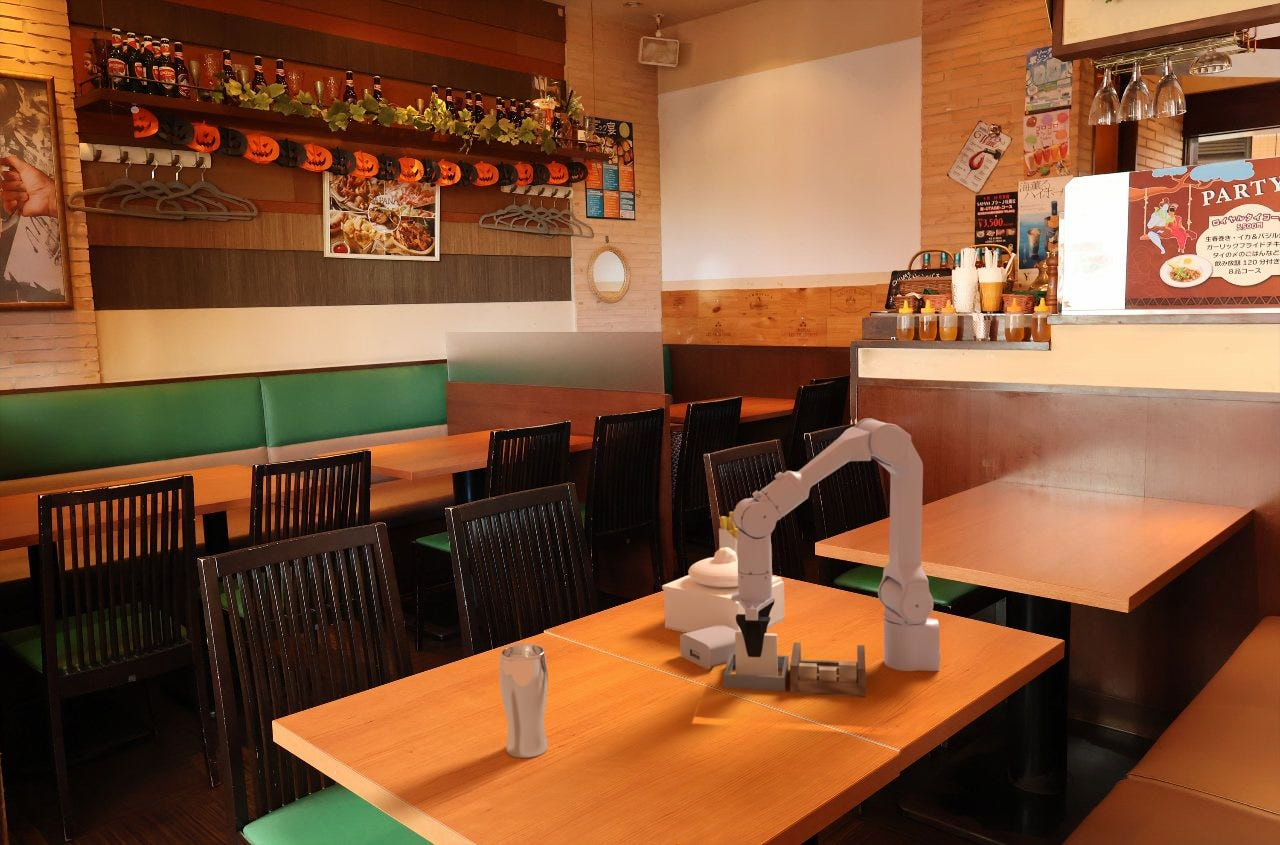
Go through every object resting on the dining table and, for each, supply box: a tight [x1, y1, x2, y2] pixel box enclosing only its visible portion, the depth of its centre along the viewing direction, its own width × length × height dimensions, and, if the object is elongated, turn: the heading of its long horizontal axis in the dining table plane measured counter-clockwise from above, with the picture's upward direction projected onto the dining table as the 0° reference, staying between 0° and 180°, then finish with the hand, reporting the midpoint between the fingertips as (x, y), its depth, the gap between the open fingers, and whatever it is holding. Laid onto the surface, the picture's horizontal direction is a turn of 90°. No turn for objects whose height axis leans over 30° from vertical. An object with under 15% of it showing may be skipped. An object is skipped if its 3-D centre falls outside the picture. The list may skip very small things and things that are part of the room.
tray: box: [722, 653, 790, 692], centre depth 165 cm, size 10×10×3 cm
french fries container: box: [718, 511, 738, 555], centre depth 219 cm, size 5×11×18 cm, turn 135°
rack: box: [789, 642, 867, 698], centre depth 163 cm, size 12×12×5 cm
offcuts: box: [799, 661, 857, 682], centre depth 159 cm, size 9×2×4 cm, turn 78°
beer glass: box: [499, 642, 549, 759], centre depth 142 cm, size 7×7×15 cm
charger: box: [679, 625, 741, 670], centre depth 179 cm, size 5×9×15 cm
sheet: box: [735, 632, 779, 676], centre depth 165 cm, size 7×1×8 cm, turn 78°
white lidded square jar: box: [661, 547, 785, 633], centre depth 196 cm, size 18×18×16 cm
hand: (756, 648), depth 165 cm, fingers open, 7 cm apart
